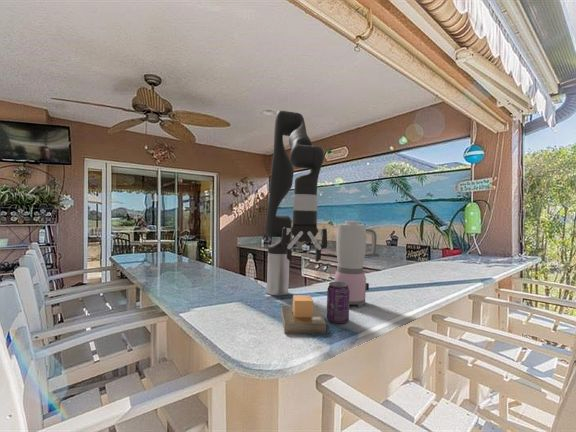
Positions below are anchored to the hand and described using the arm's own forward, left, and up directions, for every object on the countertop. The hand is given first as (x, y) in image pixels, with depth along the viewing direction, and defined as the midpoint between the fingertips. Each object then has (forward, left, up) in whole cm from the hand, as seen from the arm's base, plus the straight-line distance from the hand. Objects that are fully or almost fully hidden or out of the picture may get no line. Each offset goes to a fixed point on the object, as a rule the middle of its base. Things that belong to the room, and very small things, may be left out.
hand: (303, 261), depth 94 cm
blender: (-21, +23, -20) cm, 37 cm away
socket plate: (0, 0, -20) cm, 20 cm away
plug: (0, 0, -19) cm, 19 cm away
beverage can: (-2, +12, -20) cm, 23 cm away
